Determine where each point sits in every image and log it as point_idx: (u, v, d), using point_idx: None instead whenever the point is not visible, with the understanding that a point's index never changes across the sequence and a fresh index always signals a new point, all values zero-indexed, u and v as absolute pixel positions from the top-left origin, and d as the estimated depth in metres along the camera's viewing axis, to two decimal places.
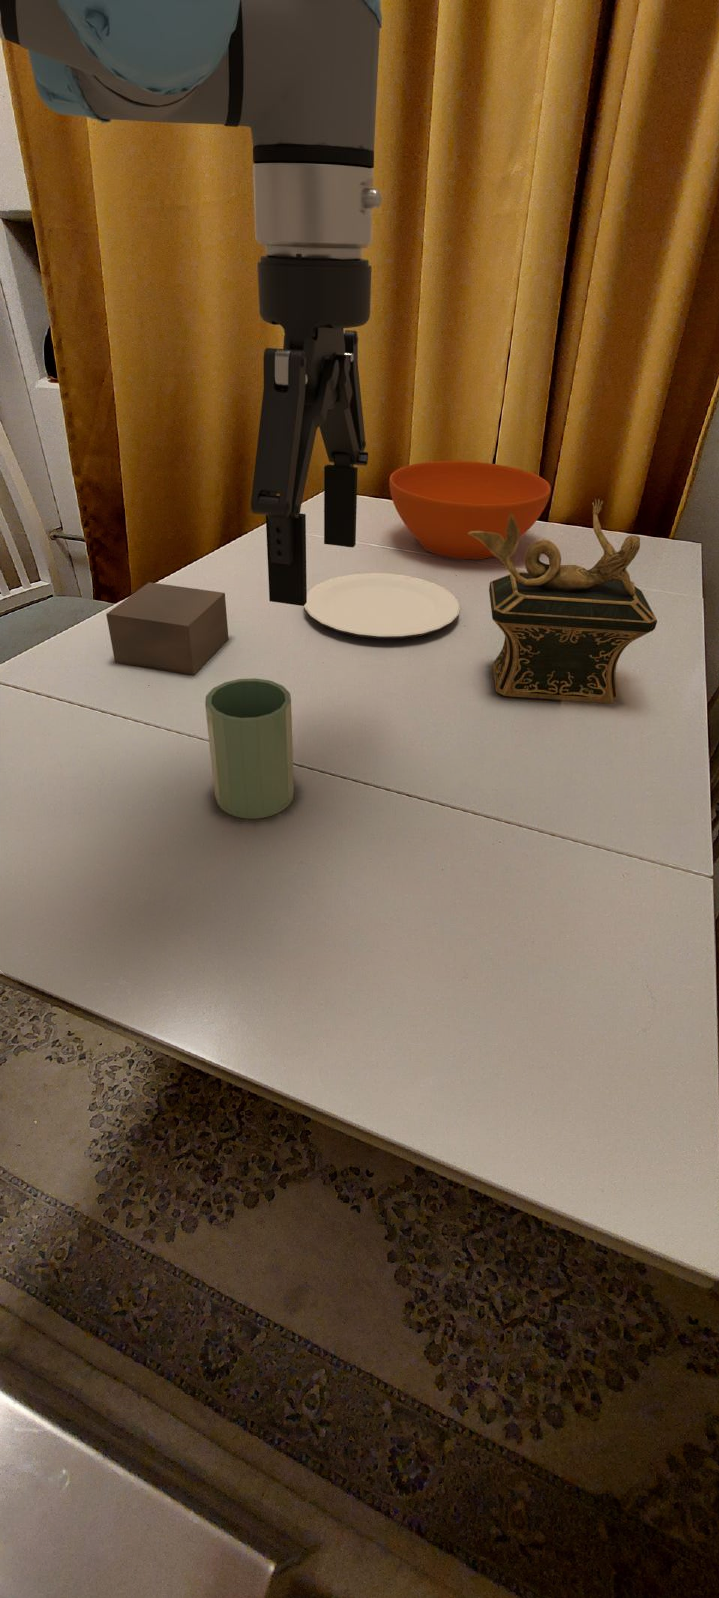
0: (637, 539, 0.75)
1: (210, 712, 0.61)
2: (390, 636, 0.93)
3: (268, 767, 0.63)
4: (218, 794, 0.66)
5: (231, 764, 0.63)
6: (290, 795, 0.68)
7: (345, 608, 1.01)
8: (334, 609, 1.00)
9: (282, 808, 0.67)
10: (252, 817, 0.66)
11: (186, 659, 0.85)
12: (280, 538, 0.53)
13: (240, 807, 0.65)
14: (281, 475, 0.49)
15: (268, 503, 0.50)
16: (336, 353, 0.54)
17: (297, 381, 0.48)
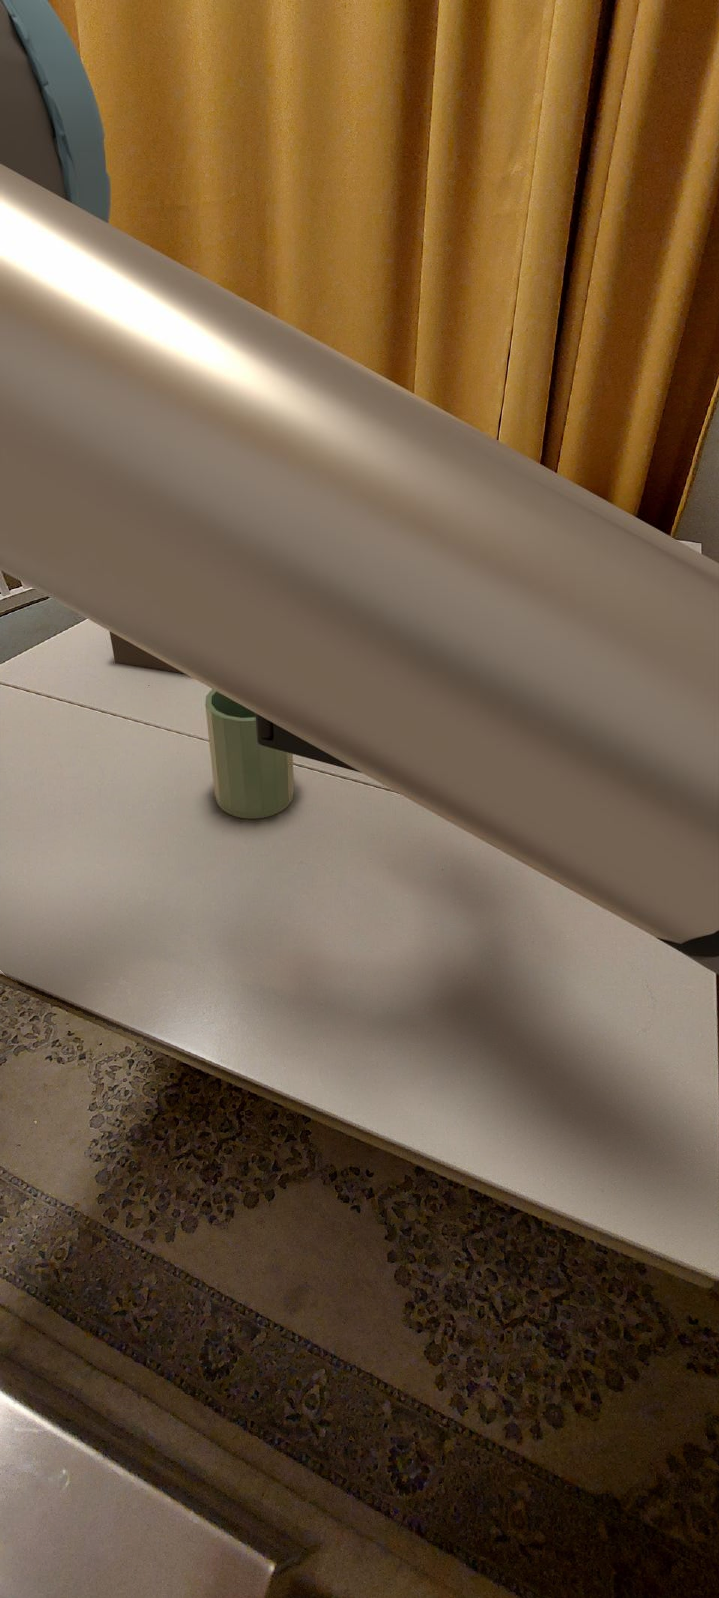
0: None
1: (210, 712, 0.61)
2: None
3: (268, 767, 0.63)
4: (218, 794, 0.66)
5: (231, 764, 0.63)
6: (290, 795, 0.68)
7: None
8: None
9: (282, 808, 0.67)
10: (252, 817, 0.66)
11: None
12: None
13: (240, 807, 0.65)
14: (290, 745, 0.41)
15: (260, 726, 0.41)
16: None
17: None
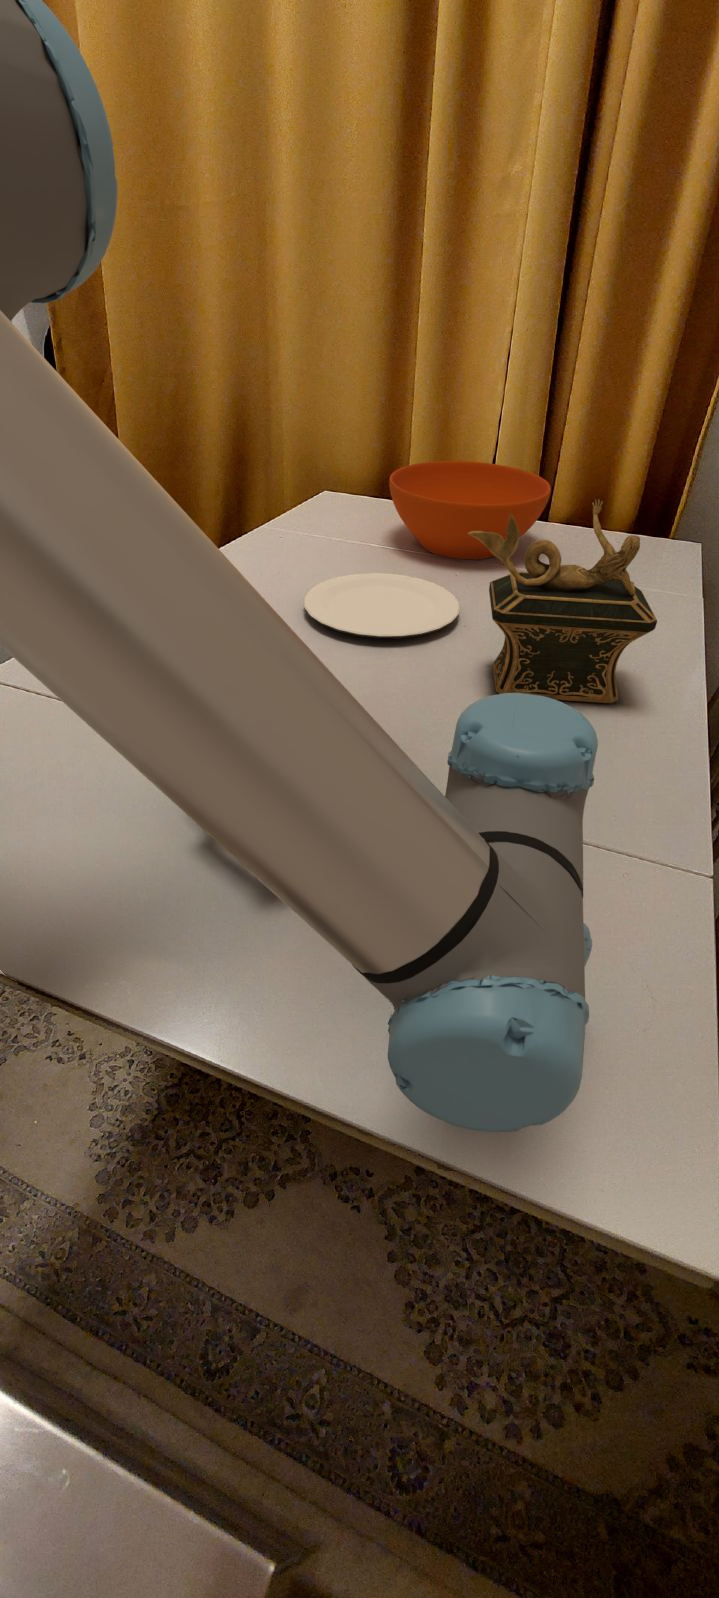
0: (637, 539, 0.76)
1: None
2: (390, 636, 0.93)
3: None
4: None
5: None
6: None
7: (345, 608, 1.01)
8: (334, 609, 1.00)
9: None
10: None
11: None
12: None
13: None
14: None
15: None
16: None
17: None
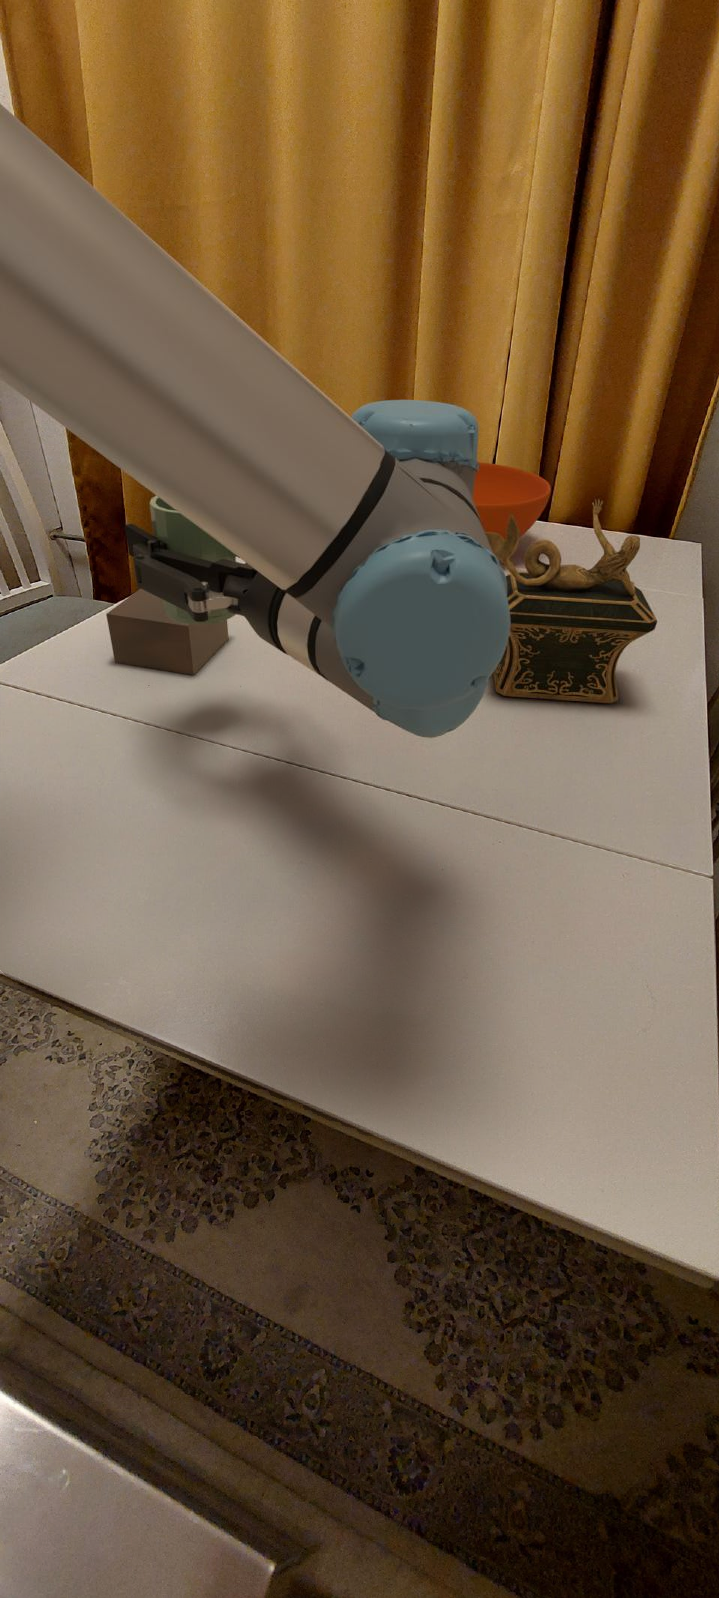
0: (638, 539, 0.76)
1: (153, 508, 0.64)
2: None
3: None
4: (165, 602, 0.70)
5: None
6: None
7: None
8: None
9: (226, 617, 0.70)
10: (197, 622, 0.69)
11: (186, 659, 0.85)
12: None
13: (185, 612, 0.69)
14: (149, 587, 0.62)
15: (136, 573, 0.63)
16: None
17: (188, 613, 0.60)
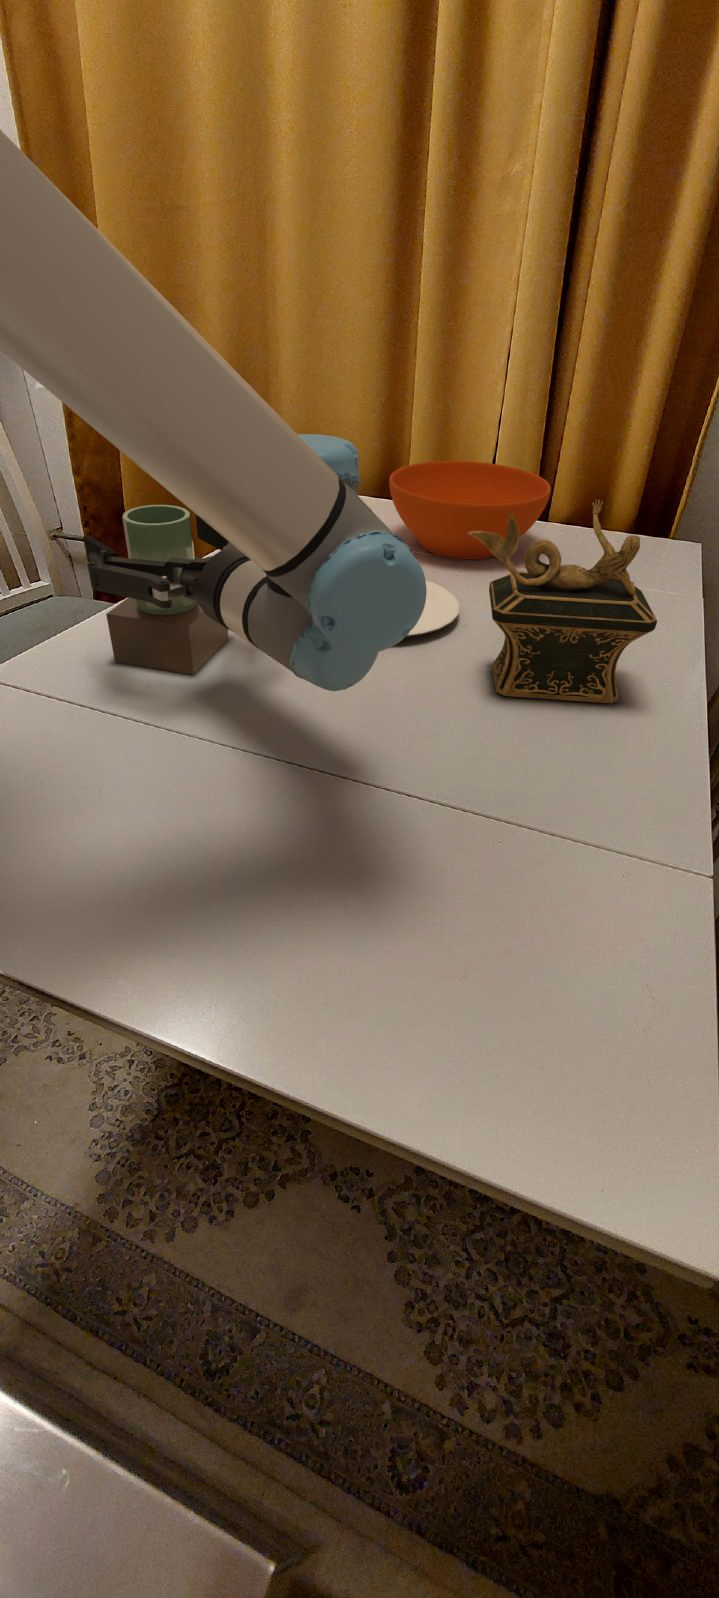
0: (637, 539, 0.75)
1: (125, 521, 0.80)
2: None
3: None
4: None
5: None
6: (194, 600, 0.86)
7: None
8: None
9: (187, 609, 0.86)
10: (163, 613, 0.85)
11: (186, 659, 0.85)
12: None
13: (152, 604, 0.84)
14: (107, 587, 0.75)
15: (91, 577, 0.75)
16: None
17: (153, 603, 0.73)
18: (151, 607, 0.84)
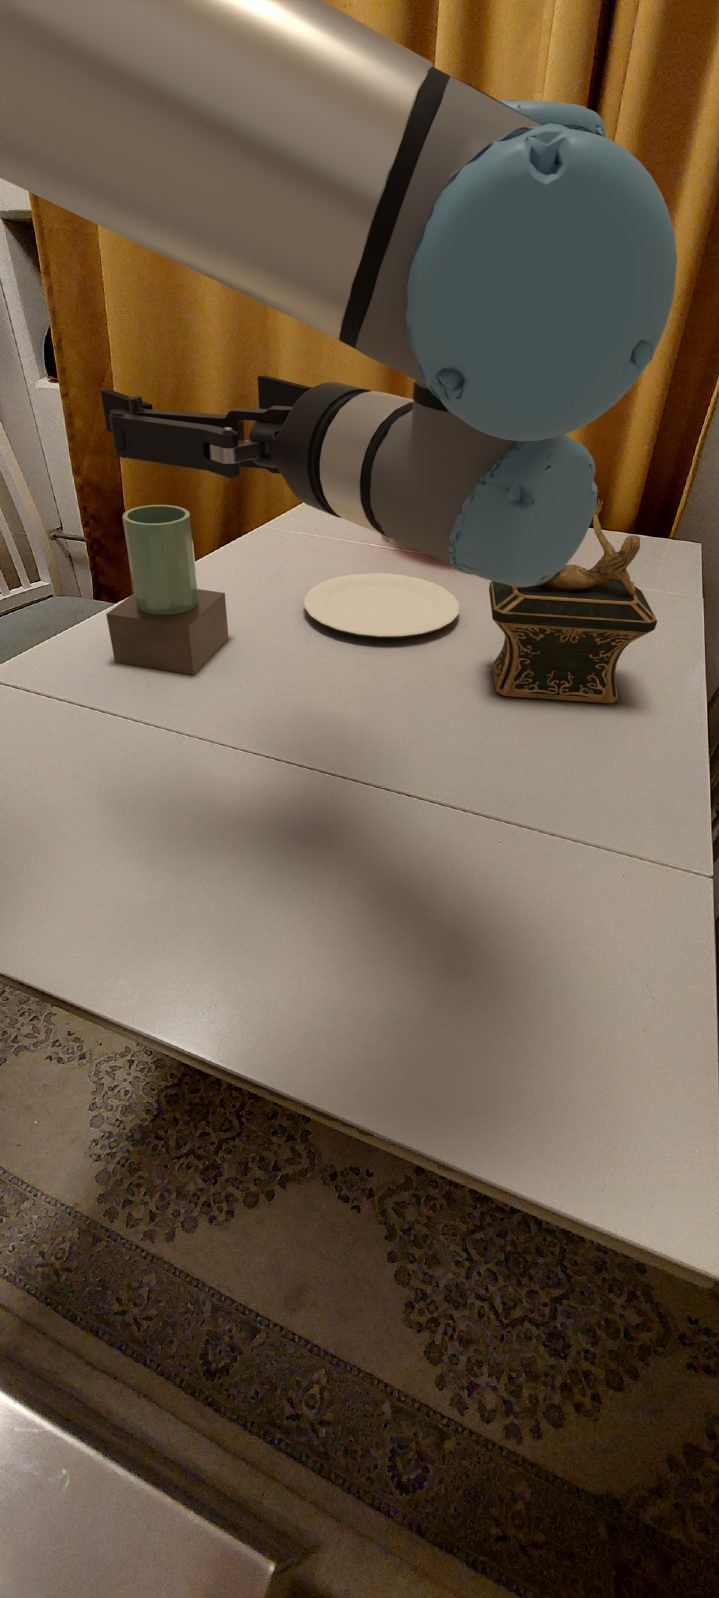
0: (638, 539, 0.75)
1: (125, 521, 0.80)
2: (390, 636, 0.93)
3: (172, 569, 0.82)
4: (136, 596, 0.85)
5: (143, 565, 0.82)
6: (194, 600, 0.86)
7: (345, 608, 1.01)
8: (334, 609, 1.00)
9: (187, 609, 0.86)
10: (163, 613, 0.85)
11: (186, 659, 0.85)
12: None
13: (152, 604, 0.84)
14: (139, 451, 0.50)
15: (115, 437, 0.50)
16: None
17: (211, 470, 0.48)
18: (151, 607, 0.84)
